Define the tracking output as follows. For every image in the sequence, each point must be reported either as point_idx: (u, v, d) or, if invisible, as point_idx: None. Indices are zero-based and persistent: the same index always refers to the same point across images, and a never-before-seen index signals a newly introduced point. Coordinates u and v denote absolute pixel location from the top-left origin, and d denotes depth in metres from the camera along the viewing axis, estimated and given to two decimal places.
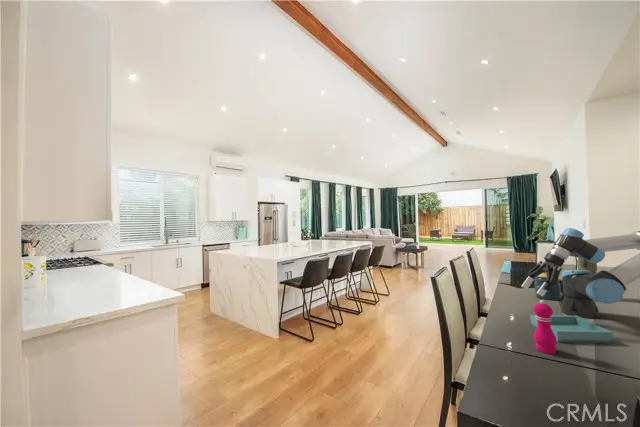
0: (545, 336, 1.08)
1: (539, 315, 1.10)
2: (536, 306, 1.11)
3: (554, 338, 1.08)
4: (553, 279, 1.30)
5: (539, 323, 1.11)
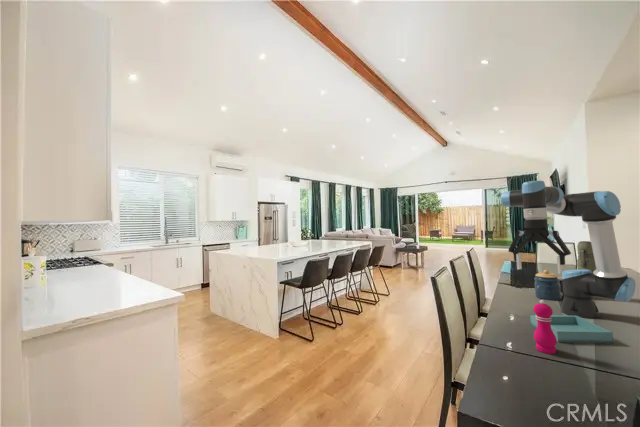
0: (545, 336, 1.08)
1: (539, 315, 1.10)
2: (536, 306, 1.11)
3: (554, 338, 1.08)
4: (567, 249, 1.04)
5: (539, 323, 1.11)
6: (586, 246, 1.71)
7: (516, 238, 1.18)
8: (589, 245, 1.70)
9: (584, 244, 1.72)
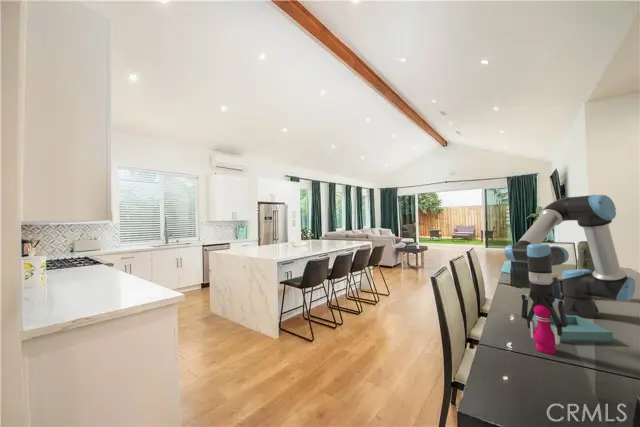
0: (545, 336, 1.08)
1: (539, 315, 1.10)
2: (536, 306, 1.11)
3: (554, 338, 1.08)
4: (565, 322, 1.05)
5: (539, 323, 1.11)
6: (586, 246, 1.71)
7: (524, 303, 1.15)
8: None
9: (584, 244, 1.72)
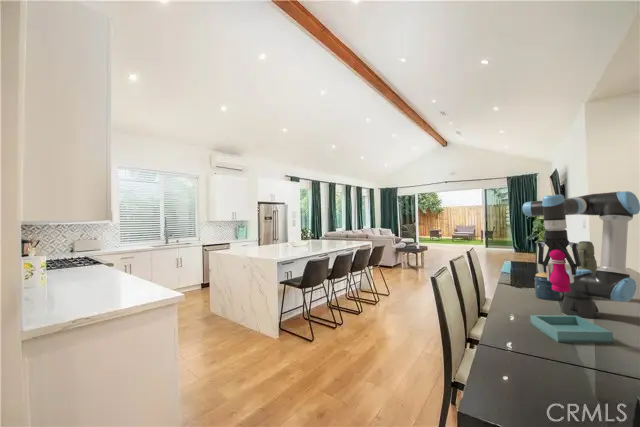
0: (560, 276, 1.20)
1: (554, 258, 1.22)
2: (551, 251, 1.23)
3: (569, 278, 1.20)
4: (579, 262, 1.17)
5: (554, 266, 1.22)
6: (586, 246, 1.71)
7: (540, 249, 1.27)
8: (589, 245, 1.70)
9: (584, 244, 1.72)
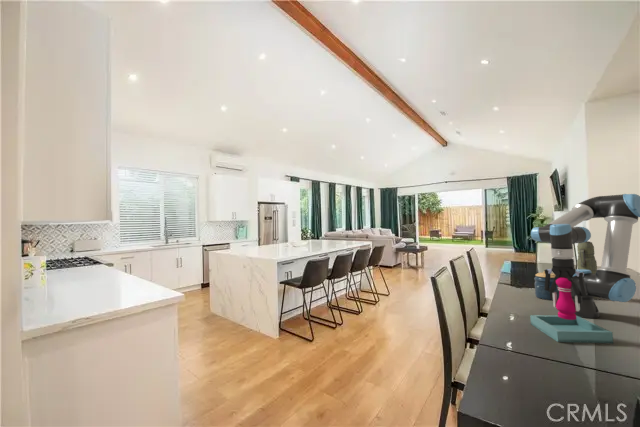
0: (567, 304, 1.23)
1: (561, 286, 1.25)
2: (558, 278, 1.26)
3: (575, 306, 1.22)
4: (585, 291, 1.19)
5: (561, 293, 1.25)
6: (586, 246, 1.71)
7: (547, 276, 1.30)
8: (589, 245, 1.70)
9: (584, 244, 1.72)
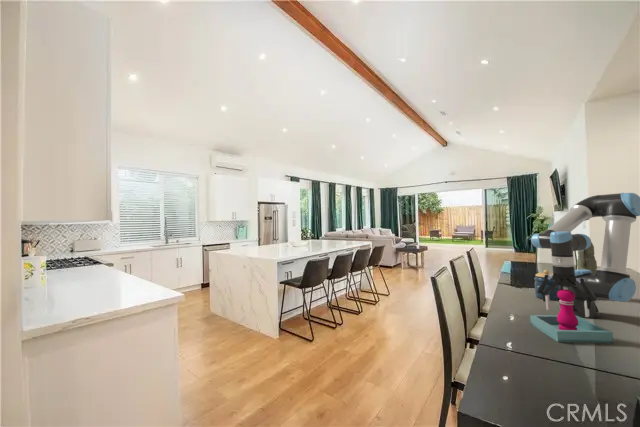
0: (568, 317, 1.23)
1: (562, 299, 1.25)
2: (560, 291, 1.26)
3: (576, 319, 1.22)
4: (593, 296, 1.17)
5: (562, 306, 1.25)
6: None
7: (545, 281, 1.30)
8: None
9: None
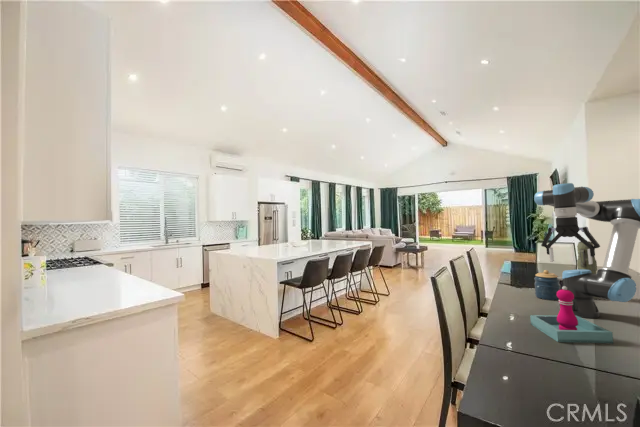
0: (568, 317, 1.23)
1: (562, 299, 1.25)
2: (559, 292, 1.26)
3: (576, 319, 1.22)
4: (596, 243, 1.20)
5: (562, 307, 1.25)
6: (586, 246, 1.71)
7: (548, 234, 1.33)
8: None
9: (584, 244, 1.72)
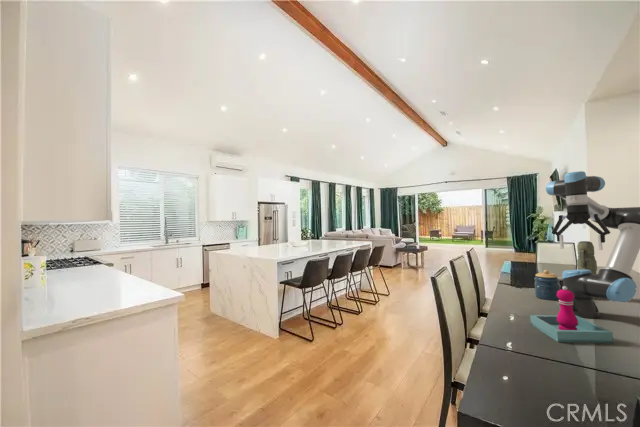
0: (568, 317, 1.23)
1: (562, 299, 1.25)
2: (559, 292, 1.26)
3: (576, 319, 1.22)
4: (607, 229, 1.23)
5: (562, 307, 1.25)
6: (586, 246, 1.71)
7: (559, 221, 1.36)
8: (589, 245, 1.70)
9: (584, 244, 1.72)
